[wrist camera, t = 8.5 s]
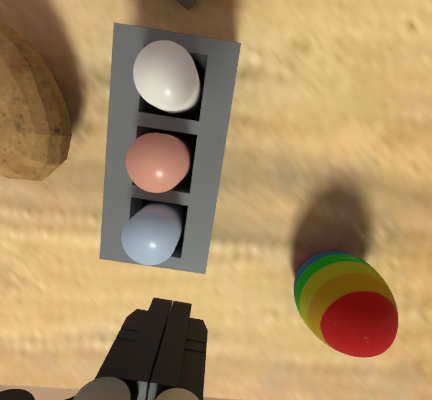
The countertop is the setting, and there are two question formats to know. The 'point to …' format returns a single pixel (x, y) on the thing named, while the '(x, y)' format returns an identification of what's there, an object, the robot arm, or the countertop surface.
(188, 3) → the soap mold
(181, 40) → the grey rectangular block
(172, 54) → the white egg
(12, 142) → the potato
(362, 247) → the countertop surface
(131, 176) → the brown egg
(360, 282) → the decorative egg
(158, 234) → the blue grey egg
